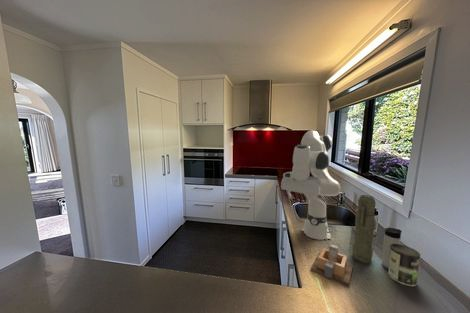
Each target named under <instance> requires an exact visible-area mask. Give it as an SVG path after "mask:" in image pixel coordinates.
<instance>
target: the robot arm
mask: <svg viewBox="0 0 470 313" xmlns="http://www.w3.org/2000/svg"><path fill="white" fill-rule="evenodd" d="M301 138H302V139H301V141H300V143H299V144H297V145H295V147H294V149H293V154H292V160H291V162H292V164H293V165H292V171H287V172H284V173H283V174H282V179H281V183H280V188H281V190H284V191H286V193H287V195H288V199H289V200H292V199H293V198H294V197H293V196H294V195H293V194H291V192H293V193H299V194H303V195H304V197H305V198H306V199H305V200H306V201H305V202H306V203H307V204H308V208H307V209H308V210H307V215H306V216H307V217H306V219H305V220H304V226H303V228H301V232H303V231H304V232H303V233H304V234H306V235H305V236H307V237H308V238H311V239H314V240H318V241H324V239H325V240H328V239H330V240H331V236H332V234H330V233H327V232H329V230H328V229H329V226H328V222H327V220H328V218H327V203H325V201H323V200H322V199H320V198H318V196H324V197H336V196H338V195H339V194H340V193H341V184H340V182H339V181H337V180H335V179H334V178H333V177H332V176H331V174H330V173H329V170H328V167H329V165H330V156H329V154H328V152H329V150H330V149H331V148H332V146H333V140H332V137H331V136H330V135H329V134H323V135H319V133H318V131H316V130H314V129H312V130H308V131H307V132H305V133H304V135H303V136H302V137H301ZM310 173H311V174H310ZM310 175H311V176H310Z"/></svg>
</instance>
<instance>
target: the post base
mask: <svg viewBox="0 0 470 313" xmlns="http://www.w3.org/2000/svg"><path fill="white" fill-rule="evenodd" d="M328 250H329V255H328V260H331V261H333V262H336V263H337V259H338V253H339V247H338V246H337V245H335V244H329V245H328ZM320 253H321V252H318V254H317V256H316V258H315V259H314V261H313V263H312V265H311V267H310V271H311V272H313V273H316V274H318V275H321V276H323V277H325V278H328V279H329V280H332V281H334V282H336V283H339V284H341V285H344V286H346V287H349V286H350V282H351V279H352V278H351V277H352V274H353V269H354V268H353V267H354V265H353V264H351V263H349V262H347V266H346V269H345V273H344V277H343V278H342V277H340V276H338V275H335V274H333V276H332V278H329V277H327V276H325V275H324V274H325V270H323V269H321V268H318V257H319V255H320Z"/></svg>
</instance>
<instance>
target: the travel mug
mask: <svg viewBox="0 0 470 313" xmlns="http://www.w3.org/2000/svg"><path fill="white" fill-rule="evenodd" d="M401 235H402V230H401V229H399V228H393V227H386V228H384V237H383V247H382V256H381V266H383V267H384V268H385V269H387V270H388V269H389V258H390V245H391V244H400V245H401V238H402V237H401Z"/></svg>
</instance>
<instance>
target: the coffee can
mask: <svg viewBox="0 0 470 313" xmlns="http://www.w3.org/2000/svg"><path fill="white" fill-rule="evenodd" d="M420 258H421V253H420V252H419V251H417V250H416V249H414V248H413V247H409V246H406V245H404V244H403V245H402V244H401V243H400V244H391V245H390V258H389V269H387V270H388V271H387V275H388V276H389V277H390V278H391V279H392V280H393V281H395V282H397V283H399V284H400V285H404V286H406V287H416V286H418V273H419V265H420Z"/></svg>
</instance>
